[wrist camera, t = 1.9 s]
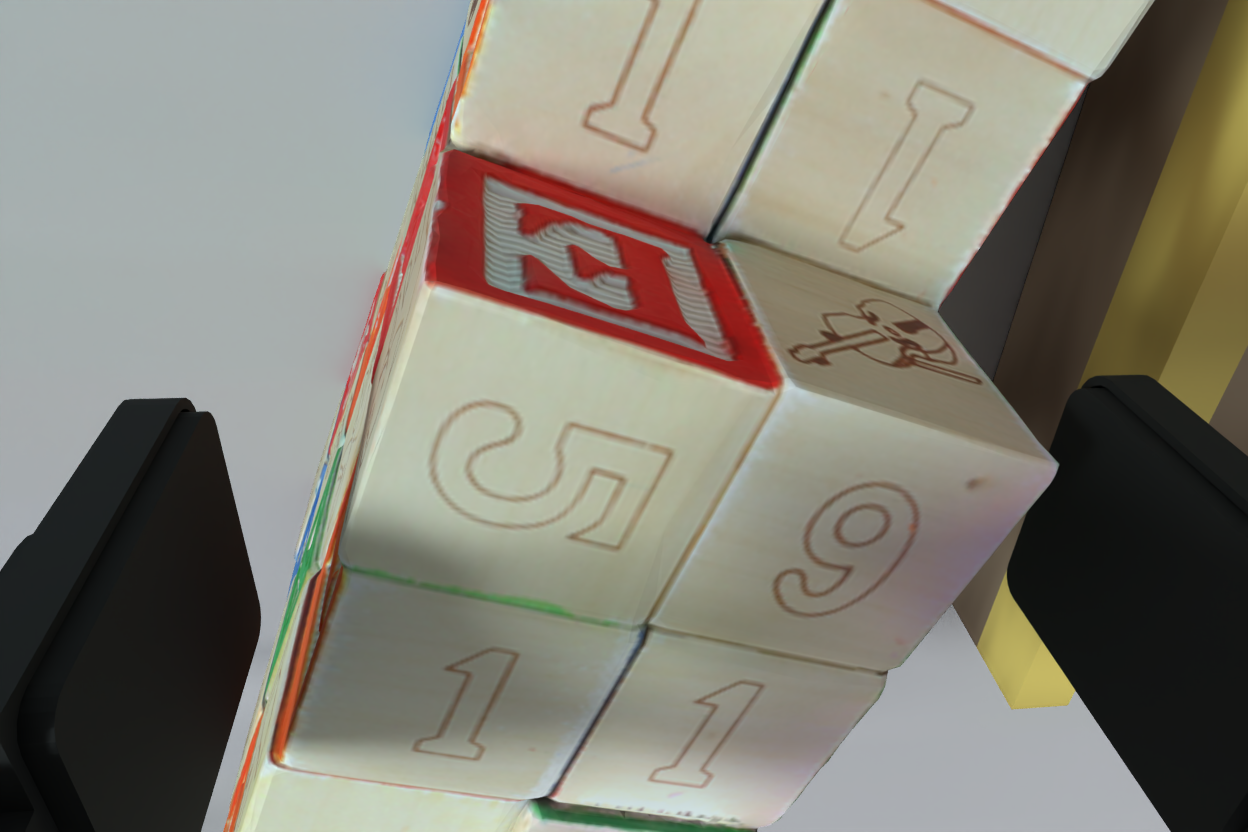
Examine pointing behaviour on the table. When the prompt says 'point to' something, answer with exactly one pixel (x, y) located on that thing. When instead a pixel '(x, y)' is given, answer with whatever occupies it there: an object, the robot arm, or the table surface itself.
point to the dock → (1133, 274)
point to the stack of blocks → (662, 414)
